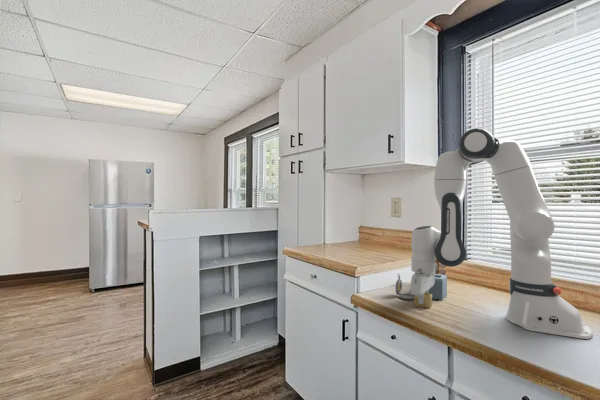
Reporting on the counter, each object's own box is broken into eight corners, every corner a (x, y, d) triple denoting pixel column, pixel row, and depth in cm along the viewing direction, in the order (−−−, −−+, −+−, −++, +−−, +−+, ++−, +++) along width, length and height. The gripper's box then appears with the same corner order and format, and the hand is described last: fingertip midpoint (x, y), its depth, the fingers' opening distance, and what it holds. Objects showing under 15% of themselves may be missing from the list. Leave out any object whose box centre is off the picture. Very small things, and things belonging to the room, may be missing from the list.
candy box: (446, 291, 142) (446, 258, 142) (438, 292, 141) (438, 258, 141) (434, 286, 151) (434, 254, 151) (426, 286, 150) (426, 255, 150)
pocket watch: (417, 300, 129) (417, 276, 129) (397, 300, 129) (397, 276, 129) (411, 294, 137) (411, 272, 137) (392, 294, 137) (392, 272, 137)
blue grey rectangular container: (446, 296, 135) (446, 275, 135) (442, 300, 129) (442, 279, 129) (420, 291, 142) (420, 271, 142) (415, 295, 135) (415, 275, 135)
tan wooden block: (432, 306, 122) (432, 293, 122) (430, 308, 119) (430, 295, 119) (416, 303, 125) (416, 291, 125) (414, 305, 123) (414, 292, 123)
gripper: (423, 272, 112) (423, 311, 112) (438, 263, 128) (438, 297, 128) (406, 270, 116) (406, 307, 116) (422, 261, 132) (422, 294, 132)
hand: (423, 301), depth 122 cm, fingers closed on tan wooden block, 3 cm apart
